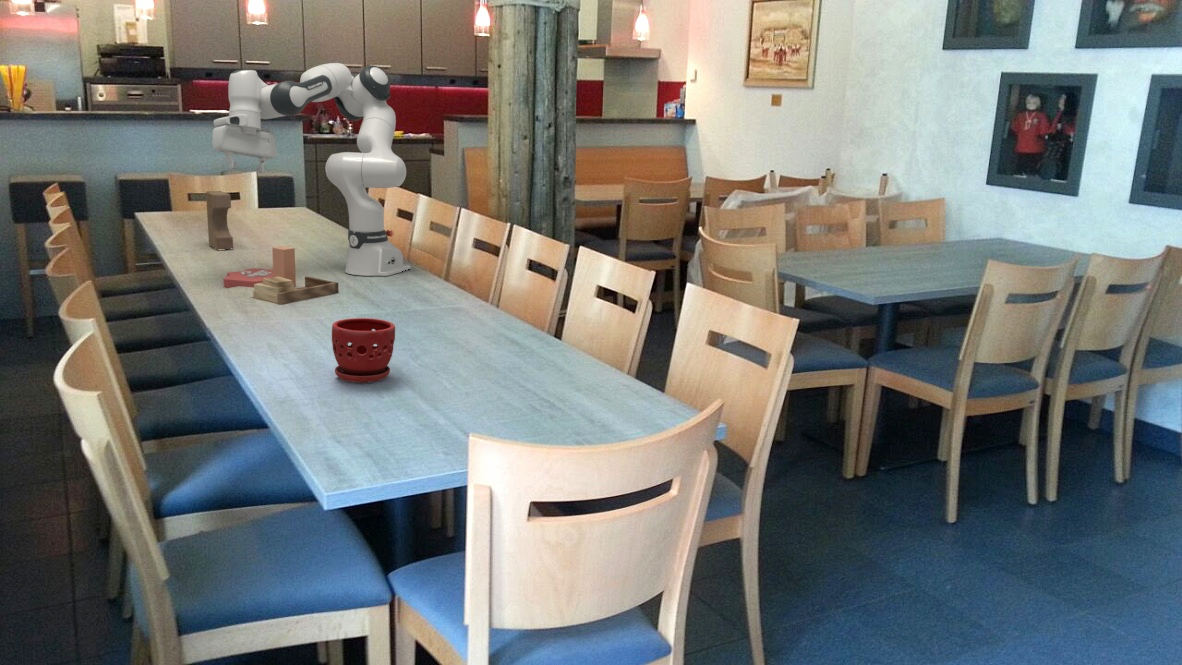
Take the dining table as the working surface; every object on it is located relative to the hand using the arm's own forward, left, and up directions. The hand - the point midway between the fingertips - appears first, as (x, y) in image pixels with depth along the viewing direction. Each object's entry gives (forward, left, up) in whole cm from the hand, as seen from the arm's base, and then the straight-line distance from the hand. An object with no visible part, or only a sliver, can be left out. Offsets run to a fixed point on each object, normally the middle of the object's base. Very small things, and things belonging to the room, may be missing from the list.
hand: (246, 170), depth 279 cm
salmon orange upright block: (0, +15, -33) cm, 37 cm away
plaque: (+1, +1, -35) cm, 35 cm away
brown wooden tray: (+5, +26, -34) cm, 43 cm away
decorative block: (-30, -55, -34) cm, 72 cm away
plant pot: (+45, +95, -34) cm, 110 cm away
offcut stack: (+12, +26, -33) cm, 44 cm away
